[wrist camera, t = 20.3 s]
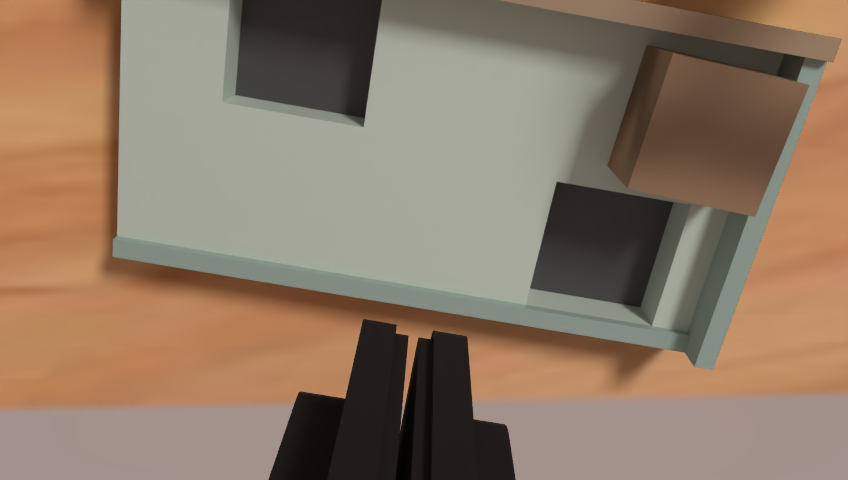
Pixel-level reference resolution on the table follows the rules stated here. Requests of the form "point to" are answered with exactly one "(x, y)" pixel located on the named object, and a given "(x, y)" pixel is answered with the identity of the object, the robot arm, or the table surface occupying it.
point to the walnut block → (704, 130)
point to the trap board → (435, 157)
